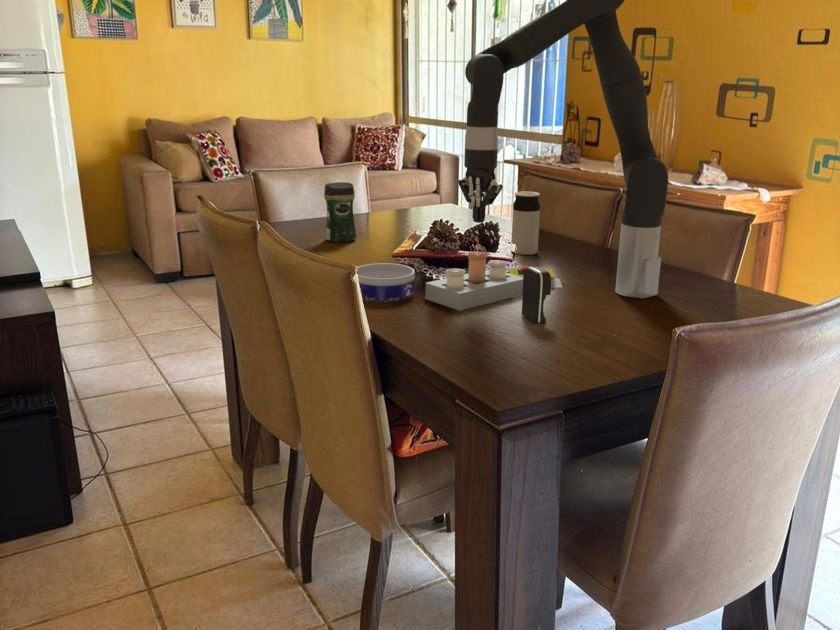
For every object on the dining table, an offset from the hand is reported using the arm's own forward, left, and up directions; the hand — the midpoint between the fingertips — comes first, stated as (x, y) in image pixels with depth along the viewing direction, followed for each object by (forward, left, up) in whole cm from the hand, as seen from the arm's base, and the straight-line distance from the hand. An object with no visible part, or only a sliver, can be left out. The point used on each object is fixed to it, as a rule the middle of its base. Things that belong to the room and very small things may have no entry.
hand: (478, 222), depth 179 cm
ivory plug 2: (0, -7, -18) cm, 19 cm away
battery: (-21, +2, -18) cm, 28 cm away
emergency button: (+1, -21, -19) cm, 28 cm away
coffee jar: (+75, -11, -18) cm, 78 cm away
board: (0, 0, -18) cm, 18 cm away
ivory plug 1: (0, +7, -18) cm, 19 cm away
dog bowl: (+16, +16, -19) cm, 29 cm away
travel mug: (+26, -45, -18) cm, 55 cm away
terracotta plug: (0, 0, -15) cm, 15 cm away
